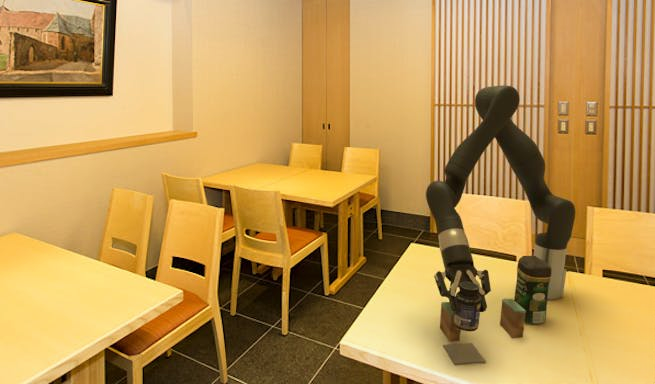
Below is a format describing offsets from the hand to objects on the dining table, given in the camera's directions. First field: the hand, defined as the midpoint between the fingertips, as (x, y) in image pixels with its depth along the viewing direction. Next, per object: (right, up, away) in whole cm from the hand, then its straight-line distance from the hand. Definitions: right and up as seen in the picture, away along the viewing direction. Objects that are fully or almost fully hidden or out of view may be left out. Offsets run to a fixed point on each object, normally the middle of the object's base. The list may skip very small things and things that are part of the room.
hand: (470, 311), depth 106 cm
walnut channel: (+8, -10, +15) cm, 19 cm away
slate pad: (0, -12, +5) cm, 13 cm away
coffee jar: (+25, -8, +23) cm, 35 cm away
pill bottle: (0, -4, +3) cm, 5 cm away
